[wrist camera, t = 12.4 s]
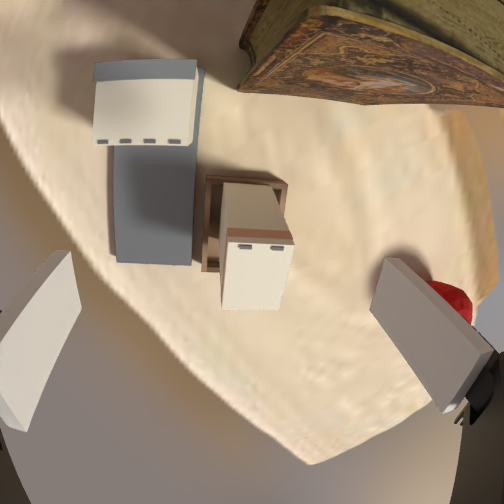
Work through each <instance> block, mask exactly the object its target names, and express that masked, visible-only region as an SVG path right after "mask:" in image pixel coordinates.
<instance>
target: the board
mask: <svg viewBox="0 0 504 504" xmlns="http://www.w3.org/2000/svg"><path fill="white" fill-rule="evenodd" d="M197 70H198V75H199V80H198V89H197V98H196V108H195V119H194V131H193V142H192V143H190V144H189V145H188V146H169V145H114V162H113V201H114V230H115V247H116V260H117V262H120V263H141V264H163V265H187V266H191V263H192V234H193V210H194V191H195V174H196V159H197V146H198V133H199V122H200V111H201V101H202V91H203V82H204V73H205V68H197Z"/></svg>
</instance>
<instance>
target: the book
mask: <svg viewBox="0 0 504 504" xmlns="http://www.w3.org/2000/svg"><path fill="white" fill-rule="evenodd" d="M239 47H240V48H241V49H245V51H246V52H247V53H248V55H249V57H250V59H251V65H252V68H251V70H250V71H249V72H248V74H247V75H246V76H245V77H244V79H243V80H242V81H241V83H240V84H239V85H238V87H237V91H238V92H244V93H263V94H278V95H290V96H301V97H310V98H319V99H327V100H334V101H341V102H348V103H354V104H360V105H380V104H460V105H476V106H490V107H499V108H504V0H257V1H256V3H255V5H254V7H253V10H252V12H251V14H250V17H249V19H248V21H247V24H246V26H245V28H244V31H243V33H242V35H241V38H240V41H239Z"/></svg>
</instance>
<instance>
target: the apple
mask: <svg viewBox="0 0 504 504" xmlns="http://www.w3.org/2000/svg"><path fill="white" fill-rule="evenodd" d="M427 284H428V285H429V286H431V287H432V288H433V289H434V290H435V291H436V292H437V293H438V294H439V295H440V296H441V297H442V298H443V299H444V300H445V301H447V302H448V303H449V304H450V305H451V306H452V307H453V308H454V309H455V310H456V311H457V312H458V313H459V314H460V315H462V316H463V317H464V318H465V319H466V320H467V321H468V322H469V323H470V324H471V322H472V302H471V301H470V299H469V298H468V296H467V295H466V294H465V292H464V291H463V290H461V289H459V288H457V287H454V286H452V285H449V284H445V283H442V282H438V281H430V282H428V283H427Z"/></svg>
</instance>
